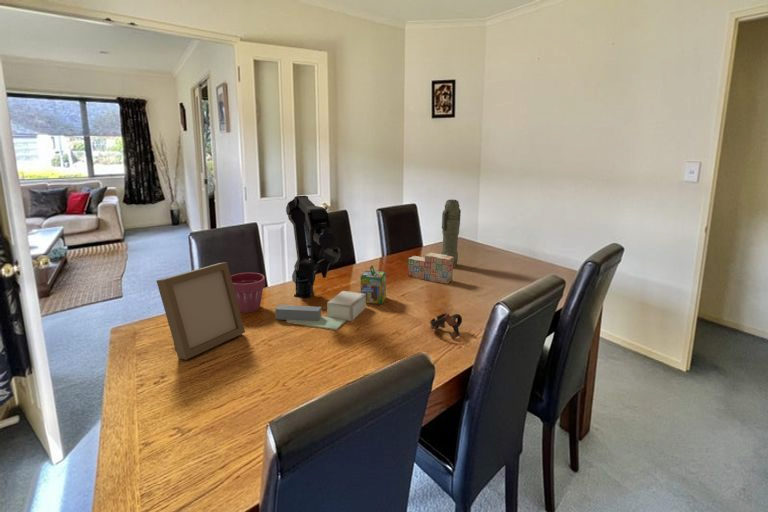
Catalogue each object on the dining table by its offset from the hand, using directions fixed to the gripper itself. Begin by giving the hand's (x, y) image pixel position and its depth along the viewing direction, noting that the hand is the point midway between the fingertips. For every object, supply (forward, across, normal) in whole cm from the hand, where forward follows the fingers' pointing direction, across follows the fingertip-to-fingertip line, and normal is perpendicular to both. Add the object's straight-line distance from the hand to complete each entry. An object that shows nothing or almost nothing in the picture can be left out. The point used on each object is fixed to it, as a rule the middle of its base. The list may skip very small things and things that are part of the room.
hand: (318, 281), depth 160 cm
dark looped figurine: (+12, 0, -51) cm, 52 cm away
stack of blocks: (+13, +56, -29) cm, 64 cm away
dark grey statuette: (+13, +81, -33) cm, 89 cm away
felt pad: (+12, -10, -4) cm, 16 cm away
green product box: (+12, +19, -15) cm, 27 cm away
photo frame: (+12, -38, +22) cm, 45 cm away
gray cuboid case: (+12, +3, -11) cm, 16 cm away
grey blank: (+12, -10, +3) cm, 16 cm away
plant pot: (+13, -9, +27) cm, 31 cm away
